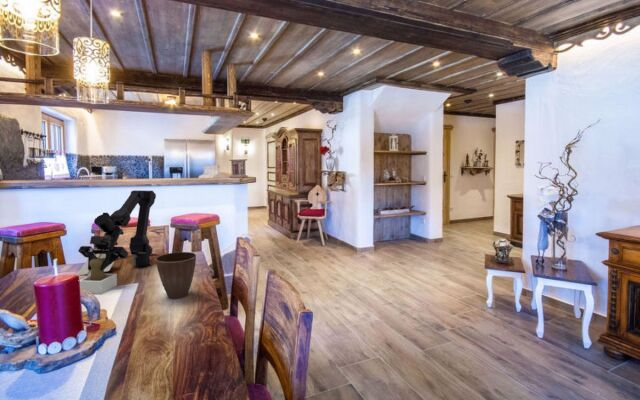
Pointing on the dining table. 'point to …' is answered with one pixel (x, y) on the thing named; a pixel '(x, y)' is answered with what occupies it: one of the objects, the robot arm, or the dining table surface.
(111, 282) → the grey open box
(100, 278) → the cork
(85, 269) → the grey slanted panel stand
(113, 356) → the dining table surface
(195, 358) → the dining table surface
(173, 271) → the plant pot
